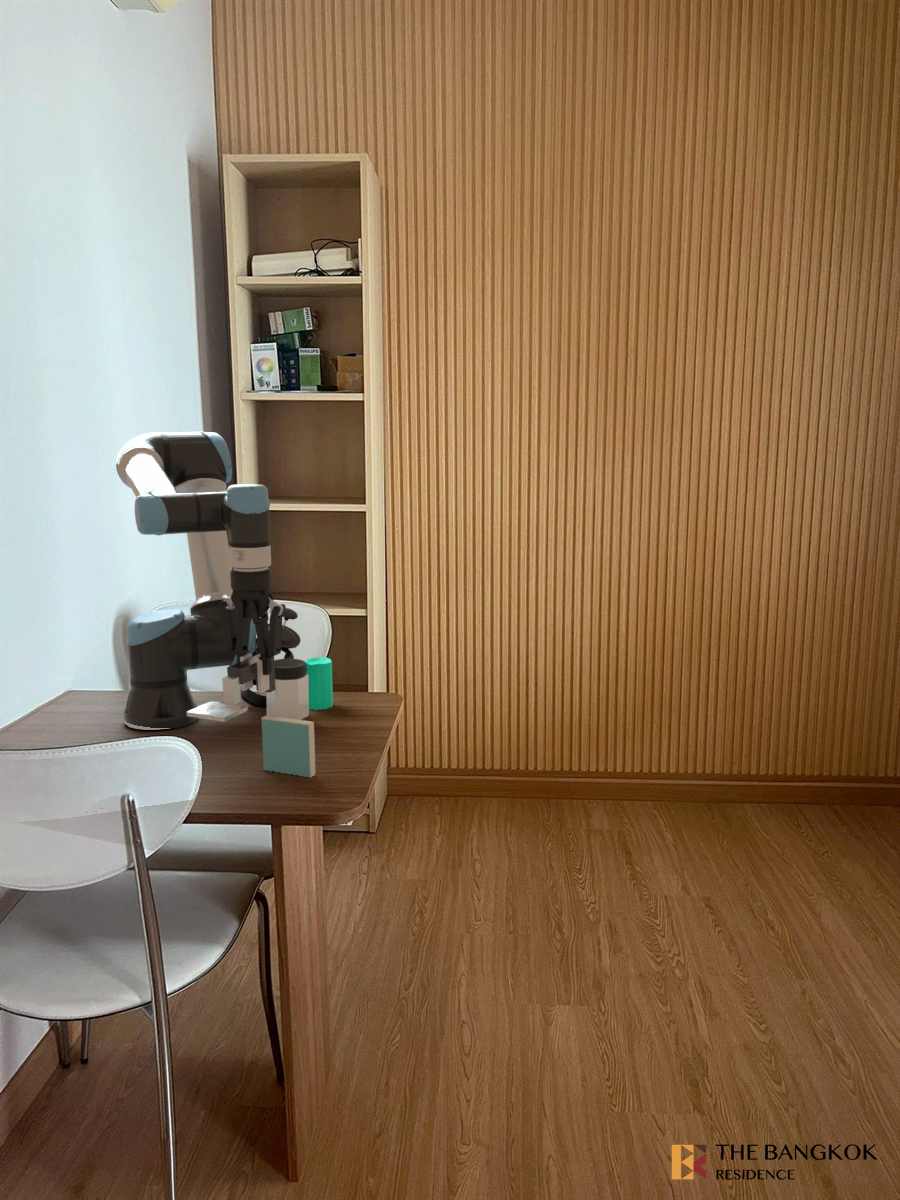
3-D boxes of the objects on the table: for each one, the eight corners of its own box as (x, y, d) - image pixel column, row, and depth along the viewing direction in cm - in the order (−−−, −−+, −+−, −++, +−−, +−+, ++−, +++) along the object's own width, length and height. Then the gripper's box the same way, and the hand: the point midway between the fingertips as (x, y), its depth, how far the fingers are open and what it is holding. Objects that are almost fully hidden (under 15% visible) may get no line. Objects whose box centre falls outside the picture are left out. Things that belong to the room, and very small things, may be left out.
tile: (268, 767, 178) (266, 715, 176) (315, 774, 174) (313, 721, 172) (262, 770, 176) (260, 718, 174) (310, 778, 172) (308, 724, 171)
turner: (251, 686, 189) (250, 651, 188) (286, 691, 186) (285, 656, 185) (187, 716, 171) (184, 678, 170) (224, 721, 168) (222, 683, 167)
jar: (315, 718, 207) (314, 664, 204) (281, 726, 202) (280, 670, 199) (294, 708, 214) (293, 656, 211) (261, 715, 208) (260, 661, 206)
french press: (289, 706, 217) (320, 623, 207) (254, 714, 210) (285, 628, 200) (260, 675, 223) (289, 593, 213) (226, 681, 216) (254, 597, 206)
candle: (316, 700, 220) (314, 649, 218) (338, 704, 217) (336, 652, 215) (300, 707, 215) (299, 655, 212) (323, 711, 212) (321, 658, 210)
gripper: (202, 568, 178) (208, 690, 183) (276, 574, 172) (280, 700, 177) (226, 562, 185) (231, 680, 190) (298, 567, 179) (302, 689, 184)
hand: (255, 689), depth 183 cm, fingers closed on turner, 3 cm apart
